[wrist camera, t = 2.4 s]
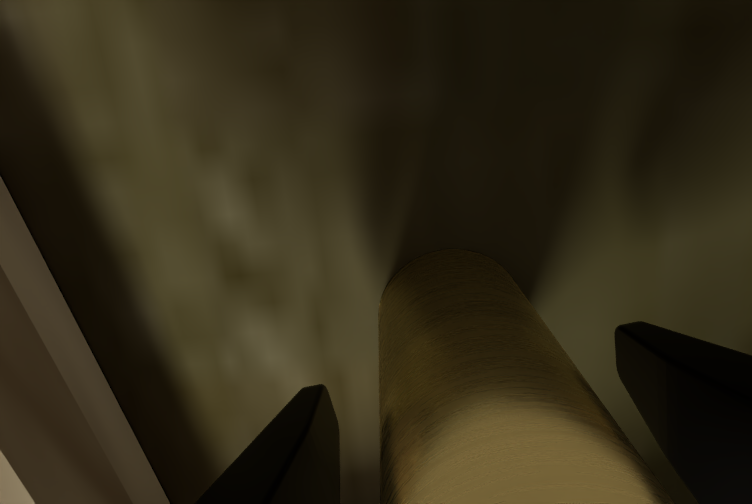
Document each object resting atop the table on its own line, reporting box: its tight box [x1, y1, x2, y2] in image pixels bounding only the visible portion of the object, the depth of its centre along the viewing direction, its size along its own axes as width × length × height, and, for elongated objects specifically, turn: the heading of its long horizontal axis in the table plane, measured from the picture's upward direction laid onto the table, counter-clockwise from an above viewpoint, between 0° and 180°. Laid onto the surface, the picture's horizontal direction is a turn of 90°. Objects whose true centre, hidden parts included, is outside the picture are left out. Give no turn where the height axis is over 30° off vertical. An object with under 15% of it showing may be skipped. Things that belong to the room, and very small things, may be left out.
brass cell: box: [378, 249, 675, 504], centre depth 6 cm, size 3×3×8 cm
